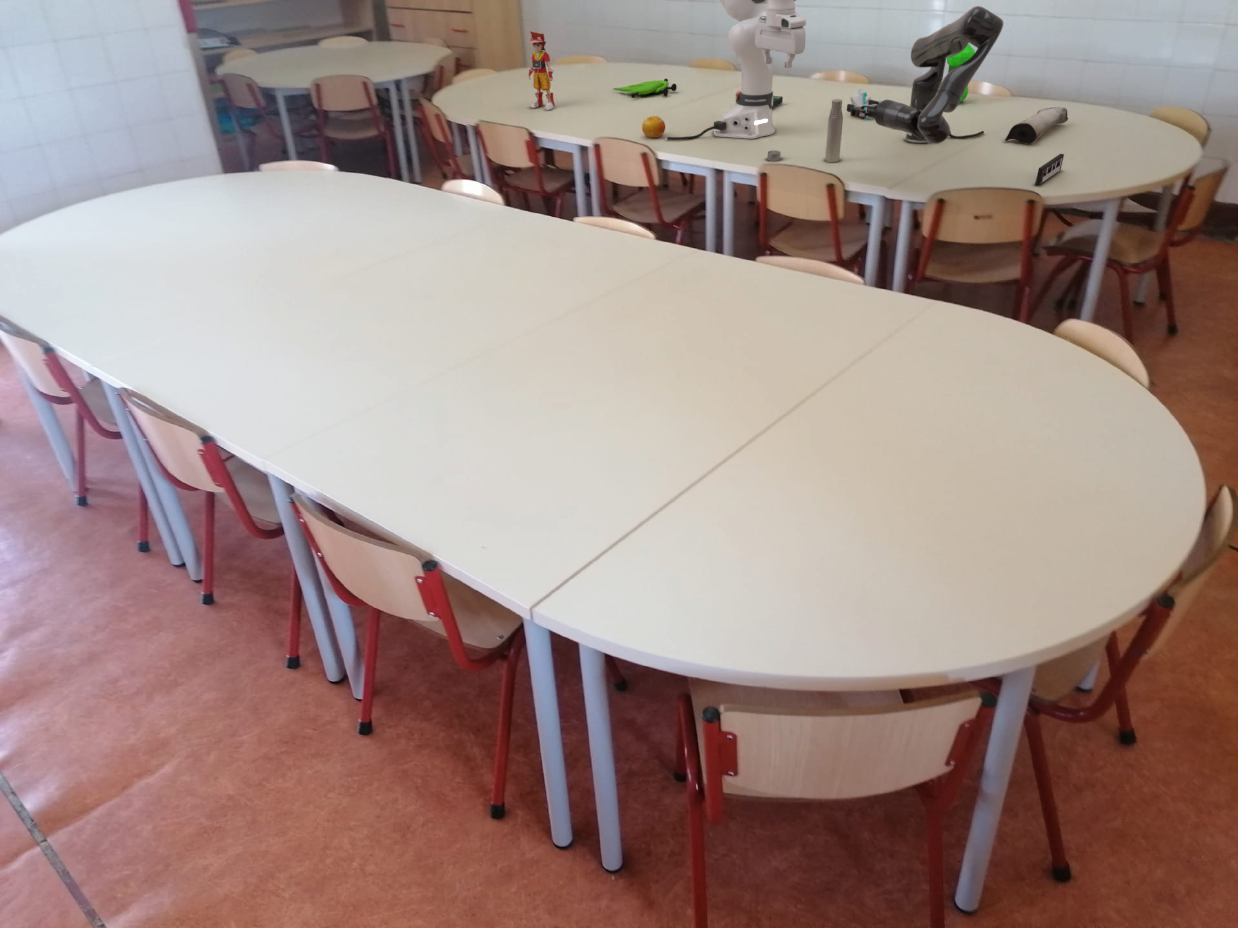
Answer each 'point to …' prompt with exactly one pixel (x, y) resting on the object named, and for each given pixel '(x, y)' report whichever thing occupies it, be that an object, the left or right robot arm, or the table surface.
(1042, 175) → the midi keyboard
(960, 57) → the plastic bottle
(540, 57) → the toy
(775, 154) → the cap
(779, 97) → the disk drive
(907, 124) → the right robot arm
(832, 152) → the bottle
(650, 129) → the fruit
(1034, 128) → the rolled mat
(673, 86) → the toy
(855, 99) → the anatomical model
